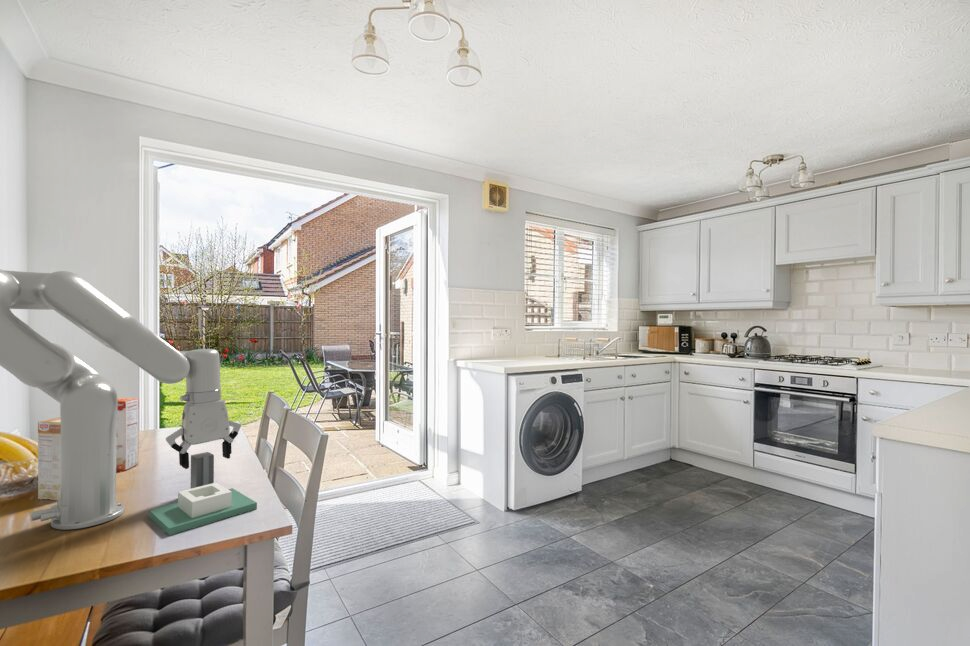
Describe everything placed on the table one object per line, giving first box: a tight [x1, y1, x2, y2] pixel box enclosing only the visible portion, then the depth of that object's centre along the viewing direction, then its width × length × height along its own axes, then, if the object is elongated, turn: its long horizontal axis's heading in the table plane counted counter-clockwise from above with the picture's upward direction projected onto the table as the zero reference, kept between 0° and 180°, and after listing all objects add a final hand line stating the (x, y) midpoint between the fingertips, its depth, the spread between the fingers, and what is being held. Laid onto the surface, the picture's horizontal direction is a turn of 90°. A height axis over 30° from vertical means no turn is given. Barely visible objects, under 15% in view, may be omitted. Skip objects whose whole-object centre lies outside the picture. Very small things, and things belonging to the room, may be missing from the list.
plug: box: [190, 451, 215, 489], centre depth 119 cm, size 4×5×10 cm
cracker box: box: [116, 397, 140, 472], centre depth 137 cm, size 14×6×21 cm, turn 92°
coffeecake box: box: [37, 416, 61, 501], centre depth 121 cm, size 15×7×20 cm, turn 174°
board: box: [148, 487, 258, 536], centre depth 108 cm, size 18×14×2 cm
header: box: [177, 482, 232, 518], centre depth 107 cm, size 8×9×4 cm
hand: (206, 462), depth 120 cm, fingers open, 9 cm apart
